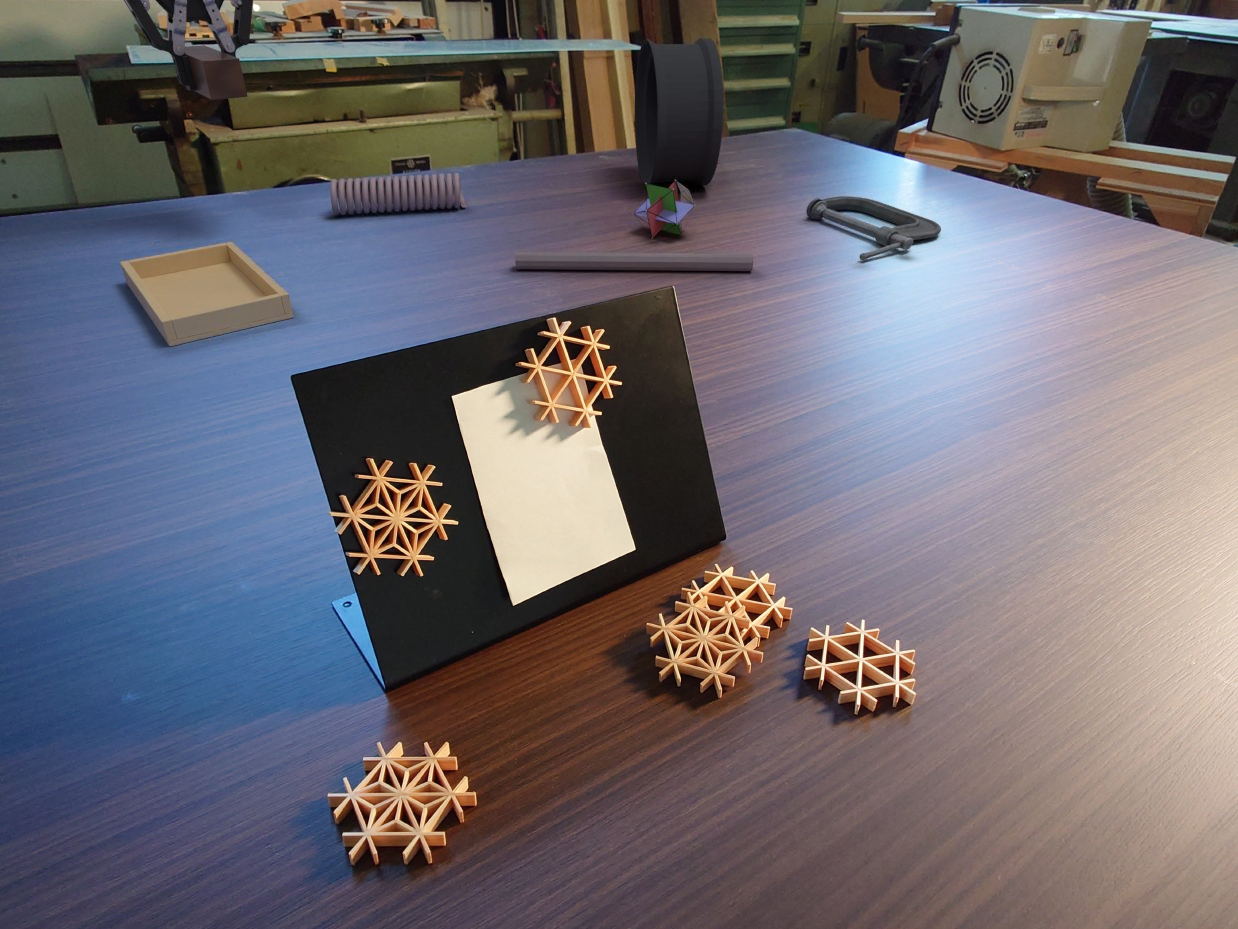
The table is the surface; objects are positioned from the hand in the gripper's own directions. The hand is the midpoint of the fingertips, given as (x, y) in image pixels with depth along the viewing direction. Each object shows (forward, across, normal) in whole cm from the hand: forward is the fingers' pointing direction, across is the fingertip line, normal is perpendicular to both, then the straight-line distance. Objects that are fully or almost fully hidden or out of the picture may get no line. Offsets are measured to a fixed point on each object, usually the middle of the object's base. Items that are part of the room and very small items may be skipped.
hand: (211, 87), depth 97 cm
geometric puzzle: (+16, -42, +35) cm, 57 cm away
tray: (+17, +11, +24) cm, 31 cm away
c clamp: (+16, -65, +49) cm, 83 cm away
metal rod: (+16, -31, +43) cm, 55 cm away
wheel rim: (+16, -59, +17) cm, 64 cm away
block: (0, 0, 0) cm, 0 cm away
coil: (+17, -19, +6) cm, 26 cm away
